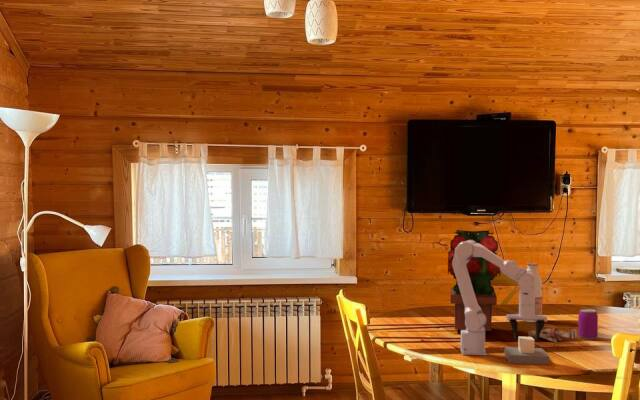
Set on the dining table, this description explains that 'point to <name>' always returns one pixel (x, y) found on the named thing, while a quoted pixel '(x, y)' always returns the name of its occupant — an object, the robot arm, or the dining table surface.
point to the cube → (526, 344)
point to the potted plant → (475, 277)
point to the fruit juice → (536, 288)
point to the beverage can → (588, 324)
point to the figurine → (553, 334)
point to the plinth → (526, 356)
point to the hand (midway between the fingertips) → (526, 339)
